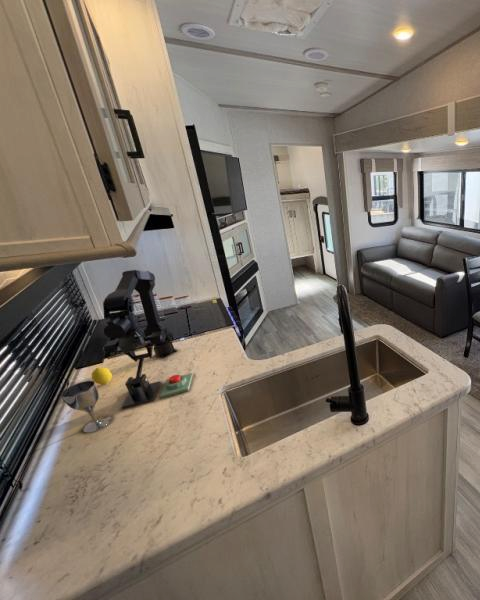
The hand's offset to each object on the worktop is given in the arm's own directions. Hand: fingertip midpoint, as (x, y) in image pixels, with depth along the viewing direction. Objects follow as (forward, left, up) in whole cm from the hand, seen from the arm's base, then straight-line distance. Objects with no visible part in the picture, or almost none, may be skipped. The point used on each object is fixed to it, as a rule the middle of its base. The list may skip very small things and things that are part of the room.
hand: (143, 359), depth 124 cm
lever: (+4, +5, -2) cm, 7 cm away
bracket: (+9, +9, -9) cm, 15 cm away
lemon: (+9, -14, -9) cm, 19 cm away
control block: (+1, +17, -9) cm, 19 cm away
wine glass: (+24, +10, -9) cm, 27 cm away
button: (+1, +17, -6) cm, 18 cm away
